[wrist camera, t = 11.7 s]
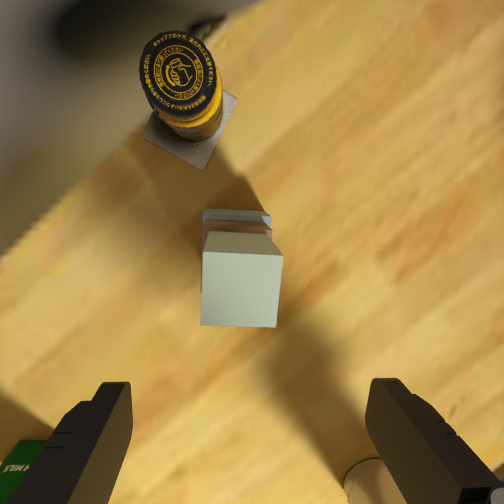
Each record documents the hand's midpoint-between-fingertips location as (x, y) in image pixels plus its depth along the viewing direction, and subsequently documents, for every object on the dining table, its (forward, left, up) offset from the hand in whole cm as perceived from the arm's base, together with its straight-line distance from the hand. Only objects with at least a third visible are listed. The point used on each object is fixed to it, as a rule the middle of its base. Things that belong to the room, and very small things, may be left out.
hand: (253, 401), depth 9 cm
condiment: (+5, -13, -26) cm, 30 cm away
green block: (0, 0, -16) cm, 16 cm away
